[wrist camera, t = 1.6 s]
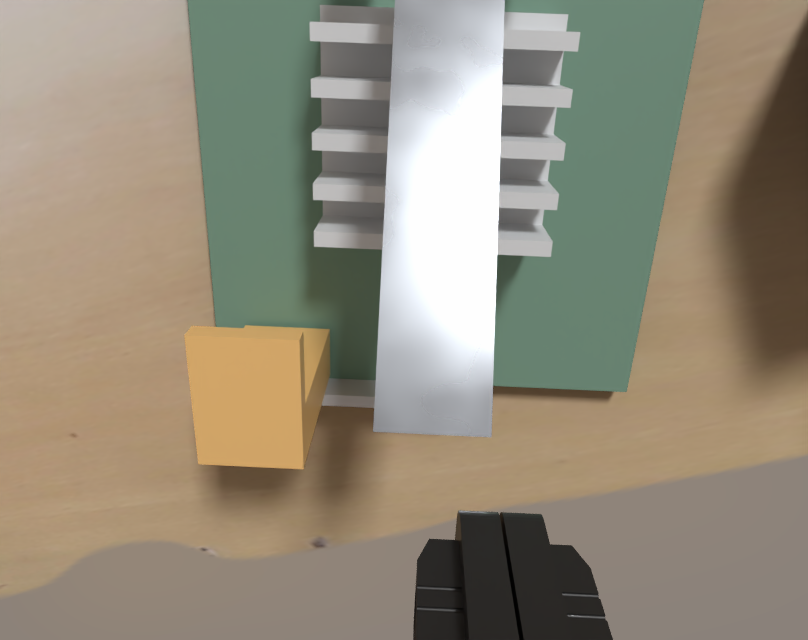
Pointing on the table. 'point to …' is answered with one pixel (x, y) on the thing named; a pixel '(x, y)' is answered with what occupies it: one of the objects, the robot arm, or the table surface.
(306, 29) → the slotted rack on board
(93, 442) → the table surface
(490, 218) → the strap
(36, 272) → the table surface
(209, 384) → the clip
